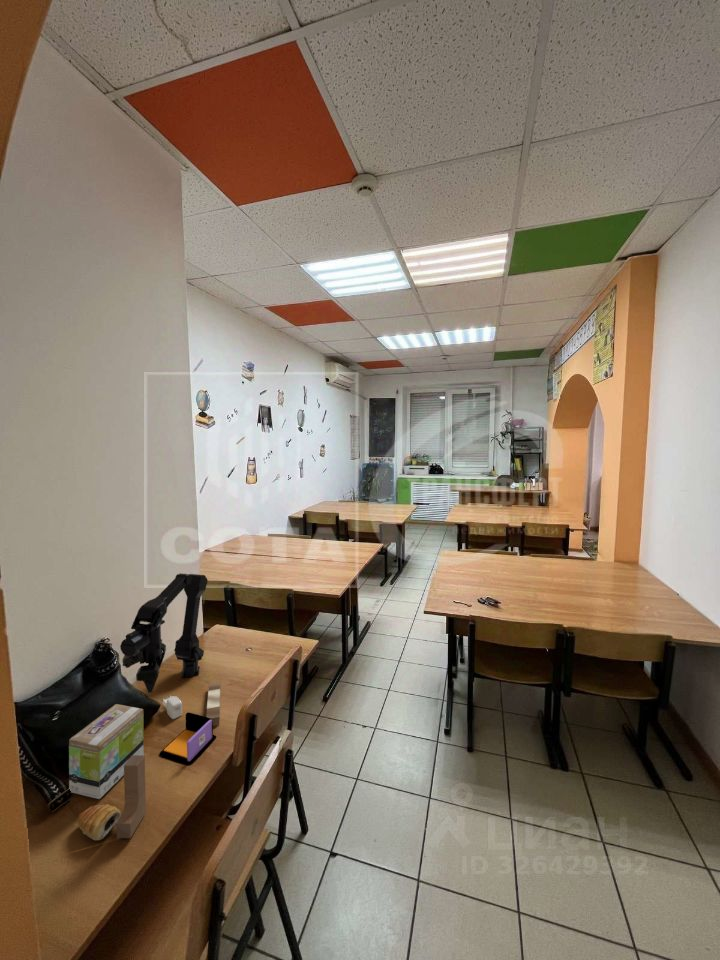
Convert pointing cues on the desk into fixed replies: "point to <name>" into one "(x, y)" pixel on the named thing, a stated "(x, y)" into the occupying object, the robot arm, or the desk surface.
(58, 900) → the desk surface
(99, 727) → the tea box
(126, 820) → the wooden block
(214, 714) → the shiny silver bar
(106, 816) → the pastry
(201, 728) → the business card holder
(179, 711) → the power adapter
